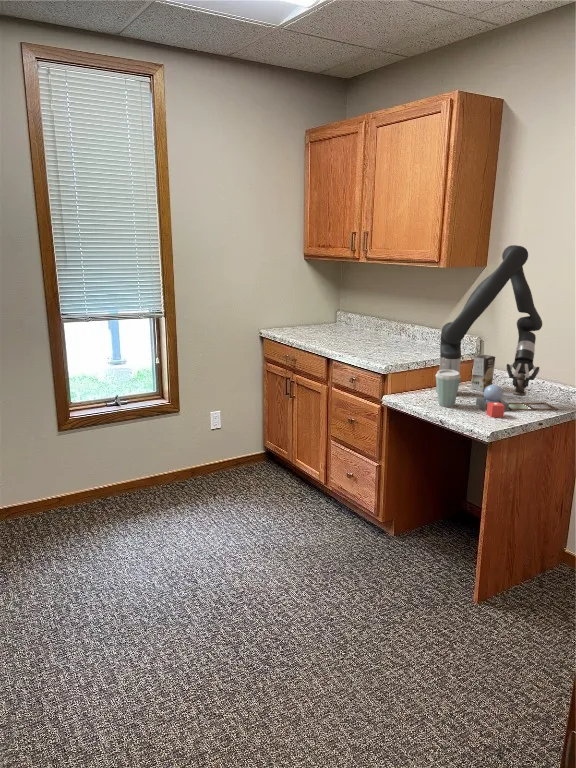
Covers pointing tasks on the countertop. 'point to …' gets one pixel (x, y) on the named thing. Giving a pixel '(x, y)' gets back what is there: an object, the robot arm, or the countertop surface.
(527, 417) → the countertop surface
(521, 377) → the pawn
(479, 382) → the coffee box
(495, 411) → the die
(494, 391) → the pale blue sphere
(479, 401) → the housing
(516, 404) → the window frame
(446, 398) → the disposable coffee cup
